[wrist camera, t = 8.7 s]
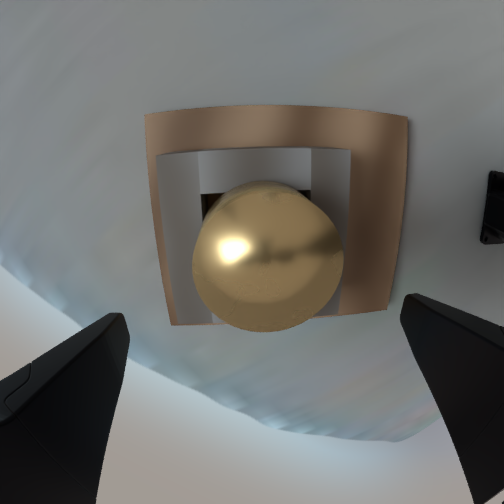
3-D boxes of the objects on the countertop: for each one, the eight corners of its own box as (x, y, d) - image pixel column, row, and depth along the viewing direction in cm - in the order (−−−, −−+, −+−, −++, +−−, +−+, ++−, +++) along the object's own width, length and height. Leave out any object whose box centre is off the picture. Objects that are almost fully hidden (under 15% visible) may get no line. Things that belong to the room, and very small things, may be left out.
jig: (399, 117, 16) (436, 116, 12) (381, 302, 22) (405, 333, 18) (149, 115, 16) (125, 110, 12) (173, 317, 21) (162, 354, 17)
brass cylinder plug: (307, 172, 17) (350, 193, 11) (303, 267, 19) (334, 326, 13) (202, 173, 16) (186, 194, 10) (208, 270, 18) (199, 334, 12)
